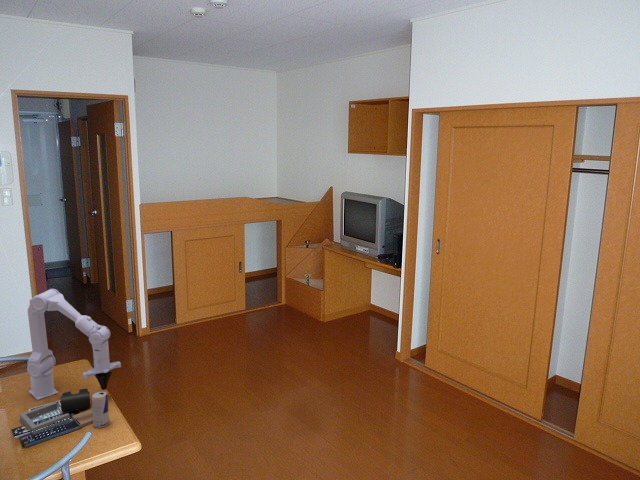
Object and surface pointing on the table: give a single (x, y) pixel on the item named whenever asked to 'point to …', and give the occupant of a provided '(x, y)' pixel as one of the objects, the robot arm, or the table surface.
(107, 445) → the table surface
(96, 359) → the robot arm
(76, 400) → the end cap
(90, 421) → the walnut stand
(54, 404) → the corral stand
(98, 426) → the energy drink
